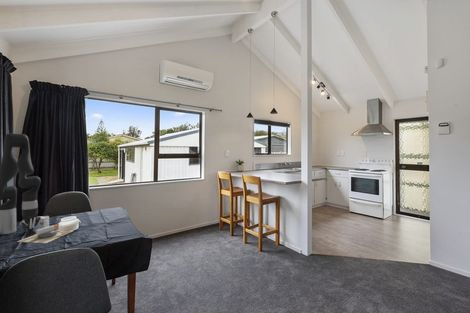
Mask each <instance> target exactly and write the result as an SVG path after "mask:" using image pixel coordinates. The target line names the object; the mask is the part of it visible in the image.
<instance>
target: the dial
mask: <svg viewBox="0 0 470 313" xmlns="http://www.w3.org/2000/svg"><path fill="white" fill-rule="evenodd" d="M57 230H59V224H53V225H49V227H45V228H42V229H38V230H36V232H35V235H38V238H48V237H52V236H55V235H56V234H57Z"/></svg>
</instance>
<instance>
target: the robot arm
mask: <svg viewBox="0 0 470 313" xmlns="http://www.w3.org/2000/svg"><path fill="white" fill-rule="evenodd" d="M13 148H22V153H21V154H20V156H19V157H18V158H17V157H16V156H15V155H14V153H13ZM1 158H2V159H1V161H0V162H1V163H0V201H4V200H6V201H5V202H4V203H1V204H0V235H7V234H8V235H9V234H12V233H16V232H17V199H18V198H17V196H18V188H17V187H16V186H14V185H9V186H6V185H7V184H8V183H9V182H10V181H11V180H12V179H14V177H16V176H17V175H18V176H19V177H18V186H19V187H20V188H21V189H28V190H27V191H24V192H23V193H22V203H21V216H22V221H20V222H18V225H19V226H20V227H21V228H22V229H25V230H26V233H27V235H33V234H34V232H33V228H34V227H35V226H37V224H38V222H39V221H40V219H41V216H39V215H38V213H39V204H38V192H39V189H40V186H41V183H42V181H41V178H40V177H39V176H38V175H37V176H36V175H33V176H30V175H32V174H34V172H35V170H34V166H33V163H32V157H31V147H30V140H29V137H28V135H27V134H25V133H6V134H5V136H4V141H3V151H2V157H1ZM30 188H31V189H30ZM29 189H30V190H29Z"/></svg>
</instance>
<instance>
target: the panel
mask: <svg viewBox="0 0 470 313" xmlns="http://www.w3.org/2000/svg"><path fill="white" fill-rule="evenodd" d="M59 230H60V229H57V234H56V235H55V236H52V237H48V238H38V235H36V234H34V235H33V234H32V235H31V236H28V237H26V238H22V239H20V240H18V241H16V242H18V243H37V244H48V243H50V242H52V241H54V240H56V239H58V238H61V237H63V236H65V235H67V234H70V233H72V232H73V230H68V231H59Z"/></svg>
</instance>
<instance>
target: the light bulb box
mask: <svg viewBox="0 0 470 313" xmlns="http://www.w3.org/2000/svg"><path fill="white" fill-rule="evenodd" d="M40 217H41V219H40V221H39V222H38V224H37V226H35V227H34V228H33V233H36V230H38V229H42V228H45V227H49V226H50V215H45V216H40Z"/></svg>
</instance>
